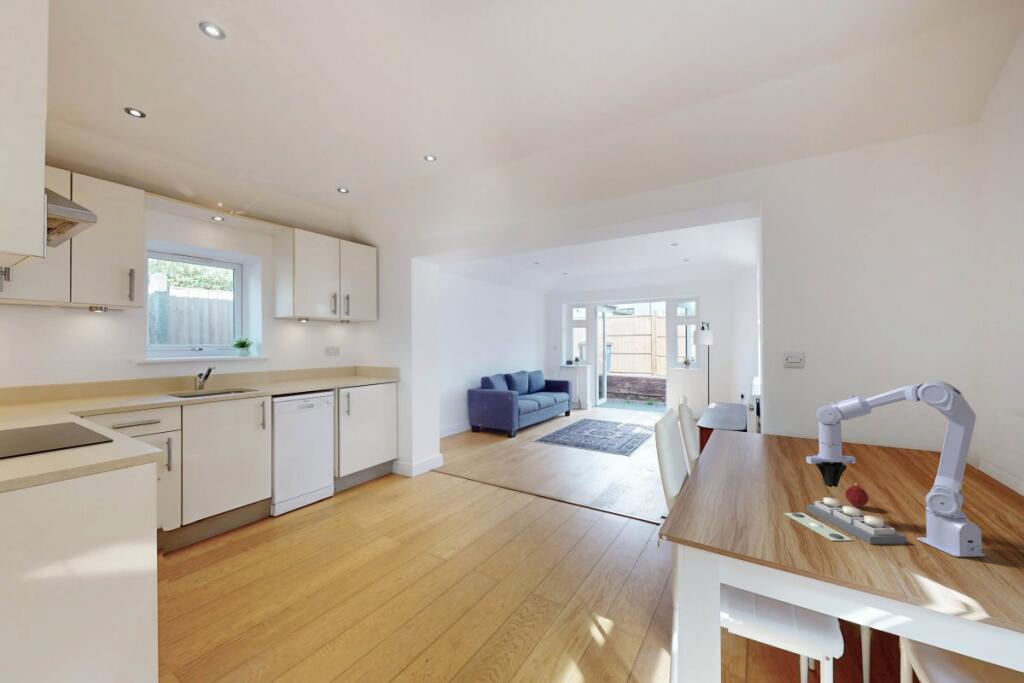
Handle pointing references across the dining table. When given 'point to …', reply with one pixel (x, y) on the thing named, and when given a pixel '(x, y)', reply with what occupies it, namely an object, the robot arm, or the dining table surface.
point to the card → (818, 527)
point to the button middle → (851, 511)
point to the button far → (831, 502)
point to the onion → (856, 496)
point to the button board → (856, 525)
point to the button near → (873, 521)
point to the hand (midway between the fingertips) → (831, 486)
